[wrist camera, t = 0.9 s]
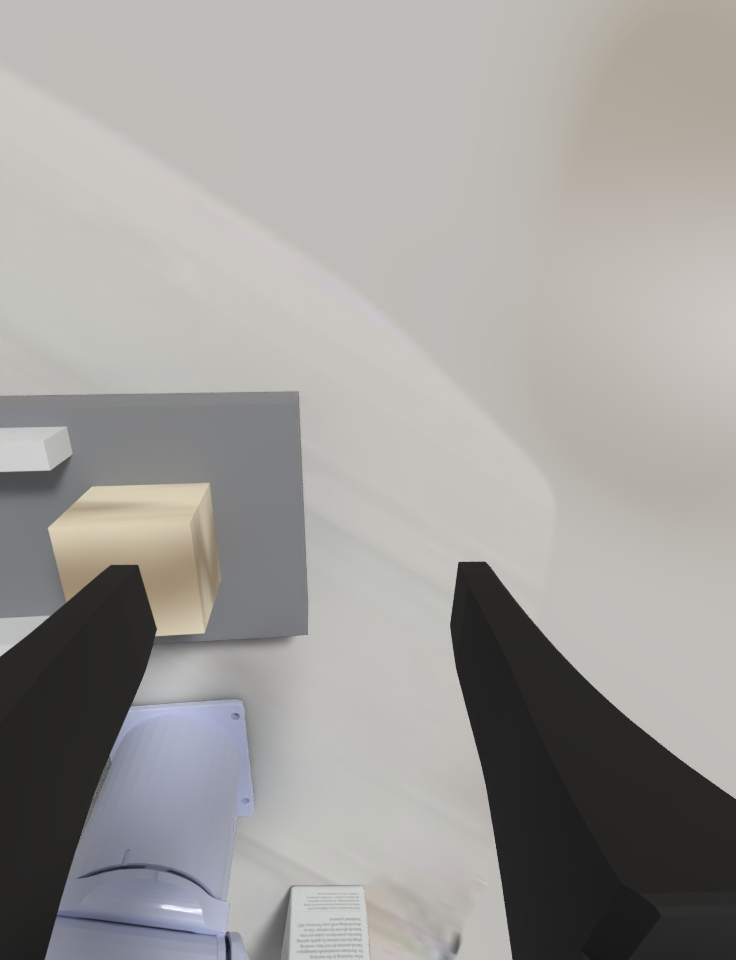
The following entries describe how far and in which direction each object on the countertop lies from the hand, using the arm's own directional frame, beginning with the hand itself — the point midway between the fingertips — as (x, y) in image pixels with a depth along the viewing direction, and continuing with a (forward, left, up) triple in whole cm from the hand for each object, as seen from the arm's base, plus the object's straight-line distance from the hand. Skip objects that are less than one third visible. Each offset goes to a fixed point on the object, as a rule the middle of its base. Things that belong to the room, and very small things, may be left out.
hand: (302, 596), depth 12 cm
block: (-4, +7, -12) cm, 14 cm away
